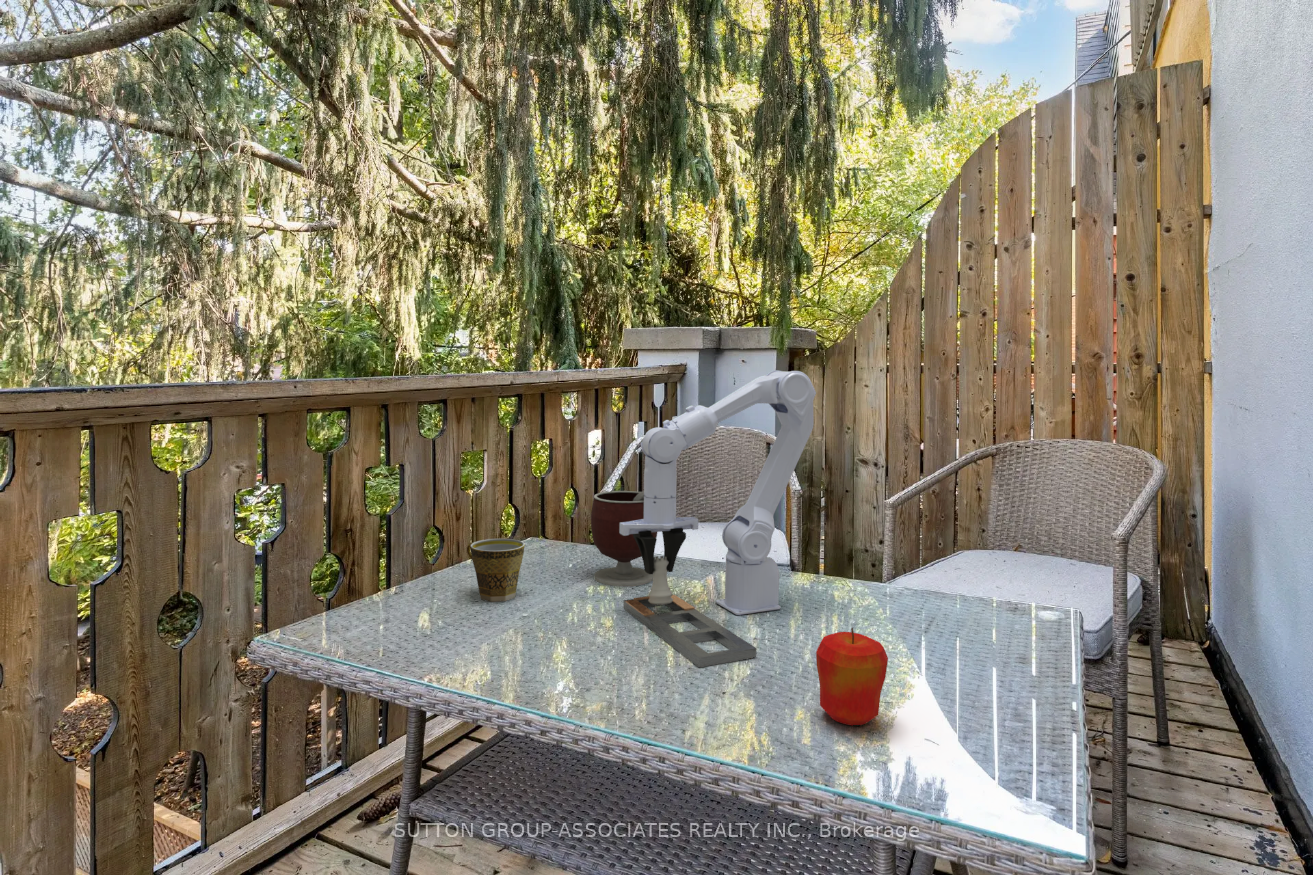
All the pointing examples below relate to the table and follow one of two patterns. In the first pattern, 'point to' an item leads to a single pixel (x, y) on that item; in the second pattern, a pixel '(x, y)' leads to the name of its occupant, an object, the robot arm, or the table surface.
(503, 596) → the ceramic cup
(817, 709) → the table surface
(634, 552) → the mate gourd
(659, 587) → the rook chess piece
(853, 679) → the apple
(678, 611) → the hole rail
